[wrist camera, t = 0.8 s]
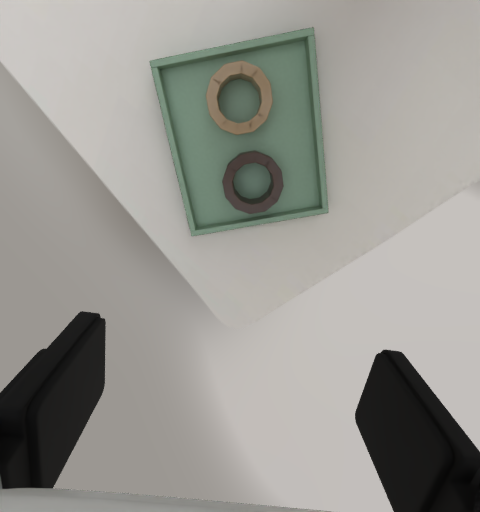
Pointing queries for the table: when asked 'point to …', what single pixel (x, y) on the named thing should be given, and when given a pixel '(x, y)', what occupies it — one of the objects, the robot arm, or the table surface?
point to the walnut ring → (267, 198)
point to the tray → (262, 139)
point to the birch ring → (233, 73)
